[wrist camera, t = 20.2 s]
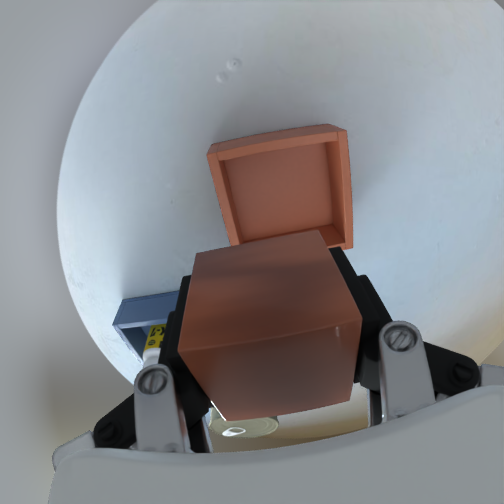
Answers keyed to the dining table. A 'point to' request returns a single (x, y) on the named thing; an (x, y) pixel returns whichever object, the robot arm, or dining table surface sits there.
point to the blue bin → (142, 319)
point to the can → (242, 426)
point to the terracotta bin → (285, 184)
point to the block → (270, 327)
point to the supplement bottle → (153, 344)
